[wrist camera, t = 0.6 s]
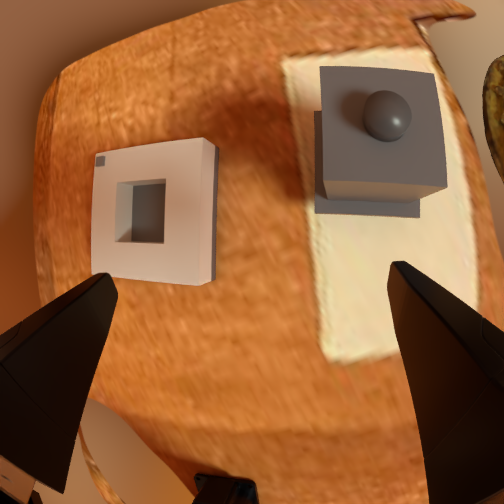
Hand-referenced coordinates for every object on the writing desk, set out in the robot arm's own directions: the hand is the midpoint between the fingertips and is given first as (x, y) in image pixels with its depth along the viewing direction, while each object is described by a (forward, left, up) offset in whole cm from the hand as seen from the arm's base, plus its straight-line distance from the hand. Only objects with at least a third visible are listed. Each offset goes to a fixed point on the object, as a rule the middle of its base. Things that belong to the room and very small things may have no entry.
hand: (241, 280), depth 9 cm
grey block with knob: (+5, -5, -13) cm, 15 cm away
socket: (+4, +11, -13) cm, 17 cm away
